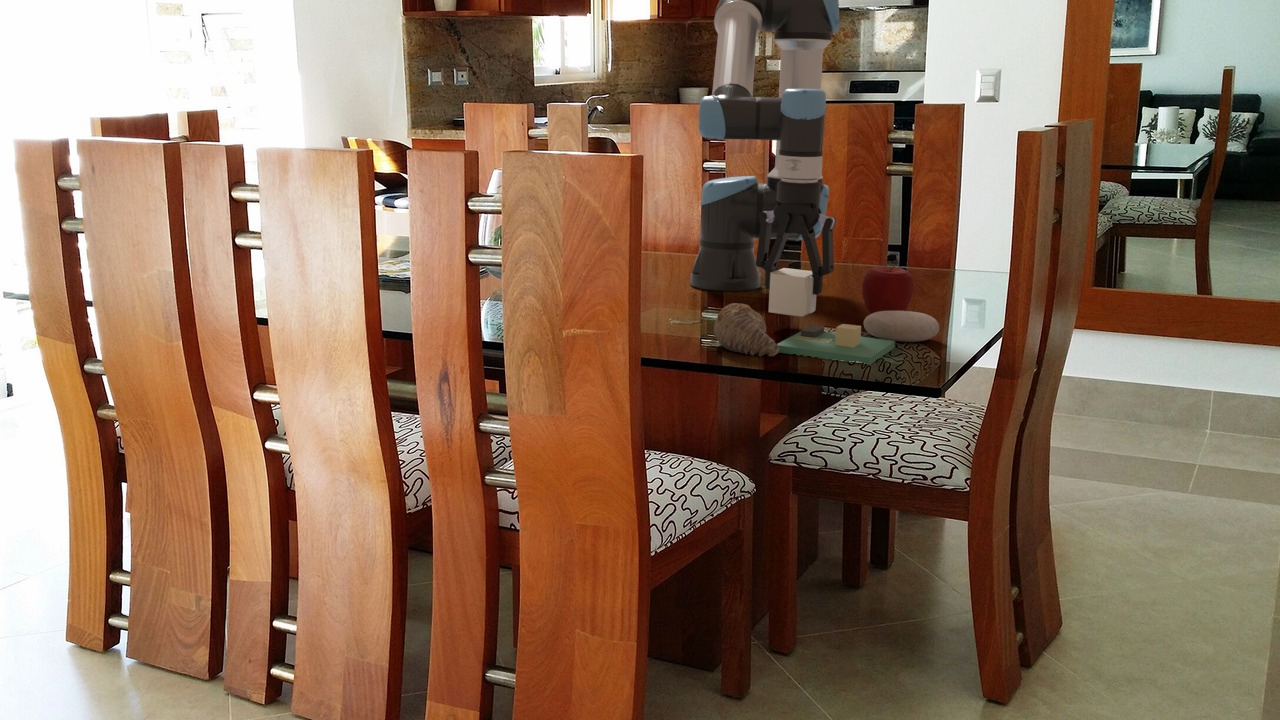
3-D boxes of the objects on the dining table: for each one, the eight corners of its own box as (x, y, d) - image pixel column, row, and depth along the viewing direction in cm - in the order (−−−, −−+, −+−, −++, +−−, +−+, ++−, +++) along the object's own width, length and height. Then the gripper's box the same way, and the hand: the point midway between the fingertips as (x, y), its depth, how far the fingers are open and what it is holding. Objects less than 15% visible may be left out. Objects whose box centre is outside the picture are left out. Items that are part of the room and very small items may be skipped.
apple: (881, 324, 204) (885, 271, 202) (849, 314, 213) (853, 263, 210) (921, 320, 209) (925, 268, 206) (888, 311, 217) (892, 260, 214)
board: (774, 352, 182) (776, 326, 181) (804, 336, 194) (805, 312, 193) (870, 365, 174) (872, 339, 173) (894, 347, 186) (896, 323, 185)
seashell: (734, 360, 192) (712, 306, 191) (788, 340, 189) (766, 285, 188) (722, 377, 179) (699, 320, 178) (780, 355, 177) (757, 297, 176)
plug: (768, 312, 197) (770, 273, 196) (782, 305, 203) (784, 267, 201) (802, 316, 195) (804, 277, 193) (815, 309, 200) (818, 271, 198)
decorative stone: (860, 342, 190) (862, 314, 189) (865, 332, 199) (867, 304, 197) (936, 349, 187) (939, 320, 186) (938, 338, 195) (941, 310, 194)
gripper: (739, 178, 194) (733, 306, 200) (846, 186, 185) (837, 320, 191) (755, 174, 200) (750, 299, 206) (860, 181, 191) (850, 312, 197)
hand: (791, 309), depth 199 cm, fingers closed on plug, 6 cm apart
